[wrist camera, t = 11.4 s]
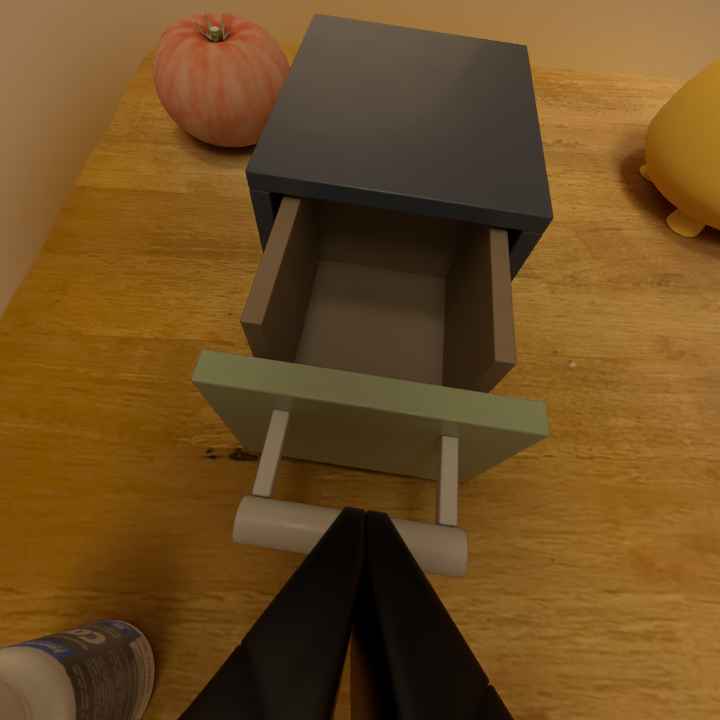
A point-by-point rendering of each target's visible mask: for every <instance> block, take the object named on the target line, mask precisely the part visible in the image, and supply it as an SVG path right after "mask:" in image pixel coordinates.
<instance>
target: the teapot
mask: <svg viewBox="0 0 720 720" xmlns="http://www.w3.org/2000/svg"><path fill="white" fill-rule="evenodd" d="M645 158H646V164H645V165H643V166H641V167H640V173H641V175H642V176H643V177H644V178H645V179H647V180H649V181H651V182H653V183H654V185H655V186H656V188H657V189H658V190H659V191H660V193H661V194H662V195H663V196H664V197H665V198H666V199H667V200H668V201H670V202H671V203H672V204H673V205H674V206H676V207H677V209H676V210H675V211H674V212H673V213H671V214H670V215H669V216H668V217H667V224H668V226H669V227H670V228H671V229H672V230H673V231H674V232H676V233H678V234H680V235H682V236H686V237H695V236H697V235H698V234H699V233H700V232H701V230H702V229H703V228H704V227H705V226H706V225H709V226H711V227H713V228H716V229H719V230H720V58H719V59H718V60H716V61H715V62H714V63H712V64H711V65H709V66H708V67H706V68H705V69H704V70H702V71H701V72H700V73H699V74H697V75H696V76H695V77H693V78H692V79H691V80H690V81H688V82H687V83H686V84H685V85H684V86H683V87H682V88H681V89H680V90H679V91H678V92H677V93H675V95H674V96H673V97H672V98H671V99H670V100H669V101H668V102H667V103H666V104H665V105H664V106H663V107H662V108H661V109H660V111H659V112H658V113H657V114H656V116H655V117H654V118H653V119H652V121H651V123H650V125H649V127H648V130H647V132H646V137H645Z"/></svg>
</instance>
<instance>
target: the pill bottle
mask: <svg viewBox="0 0 720 720" xmlns="http://www.w3.org/2000/svg"><path fill="white" fill-rule="evenodd" d="M154 670H155V667H154V658H153V653H152V649H151V646H150V644H149V642H148V641H147V639H146V637H145V636H144V634H143V633H142V632H141V631H140V630H139V629H138V628H136V627H135V626H133V625H131V624H129V623H127V622H124V621H119V620H105V621H99V622H95V623H91V624H87V625H84V626H80V627H77V628H73V629H69V630H65V631H62V632H59V633H55V634H51V635H48V636H44V637H41V638H37V639H33V640H30V641H26V642H22V643H18V644H15V645H11V646H8V647H4V648H1V649H0V720H140V719H141V717H142V715H143V713H144V711H145V709H146V707H147V705H148V702H149V699H150V697H151V693H152V689H153V683H154Z"/></svg>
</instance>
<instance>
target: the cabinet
mask: <svg viewBox="0 0 720 720" xmlns="http://www.w3.org/2000/svg"><path fill="white" fill-rule="evenodd" d="M245 172H246V176H247V181H248V185H249V188H250V195H251V200H252V204H253V209H254V213H255V218H256V222H257V227H258V231H259V236H260V240H261V245H262V249H263V254H264V251H265V248H266V245H267V242H268V239H269V236H270V234H271V231H272V228H273V225H274V222H275V219H276V216H277V214H278V211H279V208H280V205H281V202H282V199H283V196H284V194H287V195H294V196H300V197H307V198H313V199H320V200H326V201H333V202H339V203H346V204H353V205H359V206H366V207H372V208H379V209H385V210H392V211H398V212H405V213H411V214H418V215H424V216H431V217H437V218H444V219H450V220H457V221H464V222H470V223H477V224H483V225H490V226H496V227H503V228H507V234H508V249H509V263H510V277H511V282H512V280H513V279H514V277H515V276H516V274H517V273H518V271H519V270H520V268H521V267H522V265H523V264H524V262H525V261H526V259H527V258H528V256H529V255H530V253H531V252H532V250H533V249H534V247H535V245H536V244H537V242H538V241H539V239H540V238H541V236H542V233H544V232H545V230H546V229H547V227H548V226H549V224H550V222H551V221H552V219H553V211H552V205H551V198H550V192H549V185H548V179H547V173H546V166H545V160H544V153H543V147H542V140H541V134H540V128H539V121H538V115H537V108H536V102H535V96H534V89H533V83H532V76H531V70H530V63H529V57H528V51H527V46H525V45H519V44H513V43H506V42H499V41H492V40H486V39H480V38H473V37H466V36H460V35H453V34H446V33H440V32H433V31H427V30H420V29H414V28H407V27H401V26H394V25H387V24H381V23H374V22H368V21H361V20H354V19H348V18H341V17H334V16H328V15H322V14H314V16H313V18H312V21H311V23H310V25H309V27H308V30H307V32H306V34H305V37H304V39H303V41H302V43H301V46H300V48H299V50H298V52H297V55H296V57H295V59H294V61H293V64H292V66H291V68H290V70H289V73H288V75H287V77H286V80H285V82H284V84H283V86H282V89H281V91H280V93H279V95H278V98H277V100H276V102H275V104H274V107H273V109H272V111H271V114H270V116H269V118H268V120H267V123H266V125H265V127H264V129H263V132H262V134H261V136H260V138H259V141H258V143H257V145H256V147H255V150H254V152H253V154H252V157H251V159H250V161H249V163H248V166H247V168H246V170H245Z"/></svg>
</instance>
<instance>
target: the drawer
mask: <svg viewBox="0 0 720 720" xmlns="http://www.w3.org/2000/svg"><path fill="white" fill-rule="evenodd" d="M240 322H241V325H242V328H243V330H244V333H245V335H246V338H247V341H248V343H249V346H250V348H251V351H252V354H253V356H254V357H250V356H243V355H237V354H230V353H224V352H217V351H211V350H202V352H201V355H200V357H199V360H198V363H197V365H196V368H195V370H194V373H193V375H192V378H191V381H192V383H193V384H194V385H195V386H196V388H197V389H198V390H199V391H200V393H201V394H202V395H203V396H204V398H205V399H206V400H207V401H208V403H209V404H210V405H211V407H212V408H213V409H214V410H215V412H216V413H217V414H218V415H219V417H220V418H221V419H222V420H223V422H224V423H225V424H226V426H227V427H228V428H229V429H230V431H231V432H232V433H233V434H234V436H235V437H236V438H237V439H238V441H239V442H240V443H241V445H242V446H243V447H244V448H245V450H247V451H252V452H259V453H262V455H261V459H260V463H259V467H258V471H257V474H256V478H255V482H254V486H253V490H252V495H254V496H251V495H246V496H244V497H243V499H242V501H241V503H240V505H239V507H238V510H237V513H236V516H235V520H234V525H233V534H232V536H233V542H234V543H238V544H244V545H251V546H257V547H264V548H270V549H277V550H283V551H289V552H296V553H302V554H309V553H310V551H311V550H312V549H313V547H314V546H315V545H316V544H317V542H318V541H319V540H320V538H321V537H322V536H323V534H324V533H325V532H326V531H327V529H328V528H329V527H330V525H331V524H332V523H333V522H334V520H335V519H336V518H337V516H338V515H339V514H340V512H341V511H342V510H341V509H335V508H328V507H322V506H316V505H309V504H303V503H296V502H290V501H283V500H277V499H272V497H273V493H274V488H275V484H276V480H277V476H278V471H279V467H280V463H281V459H282V456H285V457H291V458H297V459H304V460H310V461H317V462H323V463H330V464H336V465H343V466H349V467H356V468H362V469H368V470H375V471H381V472H388V473H394V474H401V475H407V476H414V477H420V478H427V479H433V480H437V487H436V513H435V524H432V523H425V522H419V521H412V520H406V519H399V518H393V517H390V519H391V520H392V522H393V524H394V525H395V527H396V529H397V530H398V532H399V533H400V535H401V537H402V538H403V540H404V542H405V543H406V545H407V547H408V548H409V550H410V551H411V553H412V555H413V556H414V558H415V560H416V561H417V563H418V565H419V566H420V568H421V569H422V571H423V572H424V573H431V574H437V575H444V576H450V577H457V578H461V577H463V575H464V573H465V570H466V566H467V559H468V545H467V539H466V535H465V532H464V530H463V529H461V528H457V527H455V526H457V512H458V483H459V484H463V483H465V482H467V481H469V480H471V479H472V478H474V477H476V476H478V475H480V474H481V473H483V472H485V471H487V470H489V469H490V468H492V467H494V466H496V465H498V464H499V463H501V462H503V461H505V460H507V459H508V458H510V457H512V456H514V455H516V454H517V453H519V452H521V451H523V450H525V449H527V448H528V447H530V446H532V445H534V444H536V443H537V442H539V441H541V440H543V439H545V438H546V437H548V436H549V424H548V415H547V406H546V403H545V402H541V401H535V400H528V399H522V398H515V397H509V396H502V395H496V394H489V392H490V391H491V390H492V389H493V388H494V387H495V386H496V385H497V384H498V383H499V381H500V380H501V379H502V378H503V377H504V376H505V375H506V374H507V373H508V372H509V371H510V370H511V369H512V368H513V367H514V366H515V365H516V349H515V334H514V320H513V306H512V291H511V277H510V263H509V249H508V234H507V228H503V227H496V226H490V225H483V224H477V223H470V222H464V221H457V220H450V219H444V218H437V217H431V216H424V215H418V214H411V213H405V212H398V211H392V210H385V209H379V208H372V207H366V206H359V205H353V204H346V203H339V202H333V201H326V200H320V199H313V198H307V197H300V196H294V195H287V194H284V196H283V199H282V202H281V205H280V208H279V211H278V214H277V216H276V219H275V222H274V225H273V228H272V231H271V234H270V236H269V239H268V242H267V245H266V248H265V251H264V254H263V257H262V259H261V262H260V265H259V268H258V271H257V274H256V277H255V280H254V282H253V285H252V288H251V291H250V294H249V297H248V300H247V303H246V305H245V308H244V311H243V314H242V317H241V320H240Z"/></svg>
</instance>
